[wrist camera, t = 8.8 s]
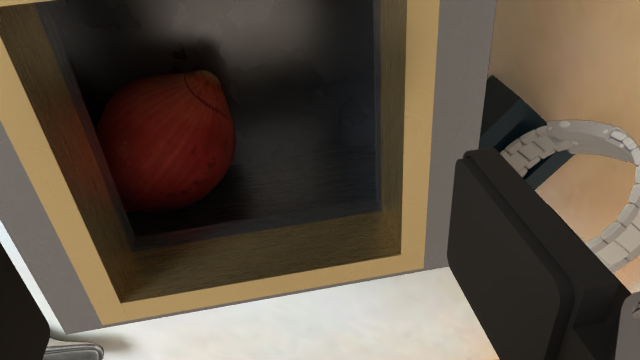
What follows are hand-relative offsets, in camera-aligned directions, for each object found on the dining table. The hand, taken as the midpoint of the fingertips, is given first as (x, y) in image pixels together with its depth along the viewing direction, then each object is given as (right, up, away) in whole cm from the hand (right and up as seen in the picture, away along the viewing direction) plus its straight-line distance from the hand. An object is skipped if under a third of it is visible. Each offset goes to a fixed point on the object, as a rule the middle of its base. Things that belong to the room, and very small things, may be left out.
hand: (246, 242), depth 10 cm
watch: (+12, +4, +19) cm, 23 cm away
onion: (-3, +6, +11) cm, 13 cm away
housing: (-3, +9, +13) cm, 16 cm away
